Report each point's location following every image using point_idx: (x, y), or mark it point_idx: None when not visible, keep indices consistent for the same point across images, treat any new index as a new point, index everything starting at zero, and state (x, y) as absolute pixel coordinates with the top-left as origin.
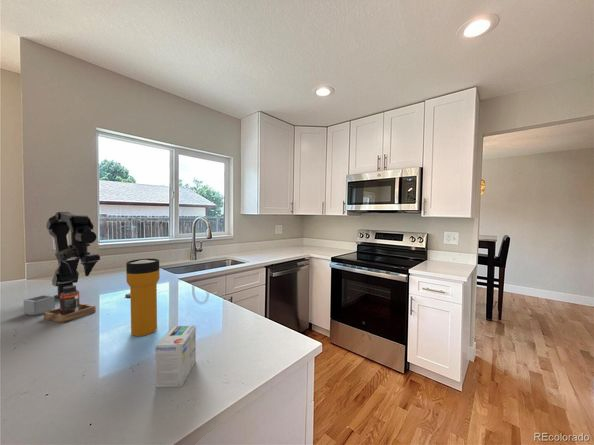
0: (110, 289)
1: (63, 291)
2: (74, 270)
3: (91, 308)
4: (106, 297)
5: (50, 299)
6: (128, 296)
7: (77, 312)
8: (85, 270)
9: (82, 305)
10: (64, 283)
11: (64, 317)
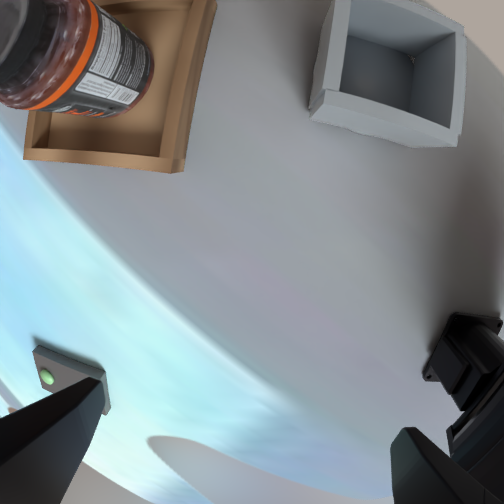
0: (302, 455)
1: (46, 3)
2: (406, 486)
3: (30, 137)
4: (196, 366)
5: (322, 76)
6: (82, 367)
7: None
8: (12, 417)
9: (101, 151)
10: (494, 382)
11: None
